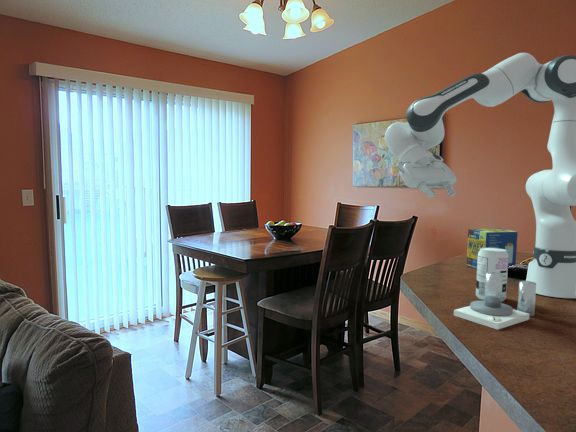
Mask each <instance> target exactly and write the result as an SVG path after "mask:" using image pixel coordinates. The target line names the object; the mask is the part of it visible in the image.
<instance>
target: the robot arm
mask: <svg viewBox="0 0 576 432" xmlns="http://www.w3.org/2000/svg"><path fill="white" fill-rule="evenodd" d="M519 93H521V94H523V95H524V96H525V97H526V98H527V100H529V101H530V102H531V101H532V102H533V103H539V104H541V103H543V104H544V103H548V102H550V101H551V102H552V104H553V108H554V114H553V117H552V121H551V126H550V131H549V136H548V142H547V148H546V149H547V151H548V152H549V153H550V156H551V159H552V160H551V162H552V167H551V169H543V170H541V171H537V172H535V173H533V174H532V175H530V176H529V177H528V179H527V180H526V181H525V182H526V183H525V191H526V194H527V195H528V196H529V198H530V200H531V202H532V206H533V207H532V208H533V211H534V216H535V226H536V227H535V229H536V230H535V245H534V246H533V250H532V258H533V259H532V260H531V261H530V262H528V268H527V272H526V273H527V274H526V279H525V281H531V282H535V283H536V294H537V295H541V296H545V297H553V298H557V299H558V298H561V299H576V220H575V219H574V216H573V215H572V211H571V208H570V206H572V207H573V206H576V55H572V54H566V55H561V56H558V57H555V58H553V59H552V60H551V61H548V62H546V63H544V64H542V63H540V62H538V60H537V59H536V58H535V57H534V55H532V54H530V53H528V52H519V53H516V54H514V55H512V56H510V57H507V58H506V59H503V60H502V61H500V62H498V63H497V64H495V65H494V66H492V67H490V68H489V69H487V70H485V71H483V72H478V73H473V74H471V75H470V74H469V75H468V76H466V77H464V78H462V79H460V80H458V81H456V82H454V83H452V84H451V85H449V86H446V87H445V88H443V89H440V90H439V91H437V92H435V93H433V94H431V95H430V94H429V95H427V96H424V97H421V98H418V99H417V100H414V101H413V102H412V103H411V104H410V105H409V106H408V108H407V110H406V113H405V118H406V122H401V121H395V122H393V123H391V124H390V125H389V126H388V127H387V129H386V131H385V134H384V135H383V136H384V142H385V144H386V146H387V148H388V151H390V153H391V154H392V155H393V157H394V158H396V159H397V160H398V162H397V164H396V168H397V170H398V174H399V177H400V178H401V180H402V181H403V183H404V185H405V186H406V187H407V188H409V189H419V191H421V192H422V193H424V194H425V195H426V196H427V197H428V198H434V196H435V195H436V191H434V189H441V188H443V189H444V190H446V195H447V196H448V197H455V195H457V193H456V191H455V190H454V187H453V186H454V184H455V183H456V182H457V177H456V175H455V174H454V172H453V171H452V170H451V168H450V167H449V166H448V165H447V164H446V163H445V162H444V159H443V157H442V156H441V155H438V154H434V153H432V152H431V151H430V150H432V149H433V148H436V147H437V146H439V145H440V144H442V143H443V141H444V138H445V136H446V132H445V126H444V122H443V121H444V120H443V116H444V115H445V113H446V112H447V111H448V110H450V109H452V108H454V107H456V106H458V105H459V104H461V103H463V102H465V101H467V100H469V99H474V101H476V102H477V103H478V104H479V105H481V106H483V107H488V108H489V107H490V108H493V107H496V106H499V105H501V104H503V103H505V102H506V101H508V100H509V99H511V98H512V97H514V96H515V95H517V94H519ZM433 188H434V189H433Z"/></svg>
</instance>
